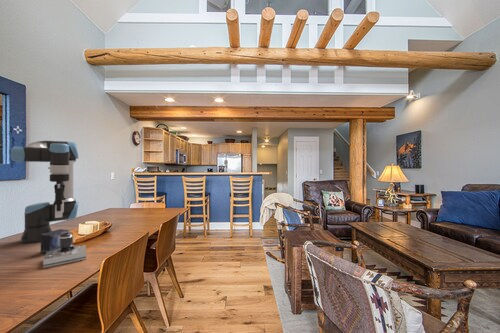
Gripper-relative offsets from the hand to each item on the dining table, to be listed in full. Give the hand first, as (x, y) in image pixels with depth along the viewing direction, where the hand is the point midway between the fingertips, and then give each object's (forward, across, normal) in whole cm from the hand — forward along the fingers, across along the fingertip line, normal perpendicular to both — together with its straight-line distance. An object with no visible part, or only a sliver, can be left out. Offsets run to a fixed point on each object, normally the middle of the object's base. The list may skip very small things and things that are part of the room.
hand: (59, 214), depth 111 cm
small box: (+23, -17, -3) cm, 29 cm away
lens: (+19, +3, +3) cm, 19 cm away
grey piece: (+23, +3, +3) cm, 23 cm away
